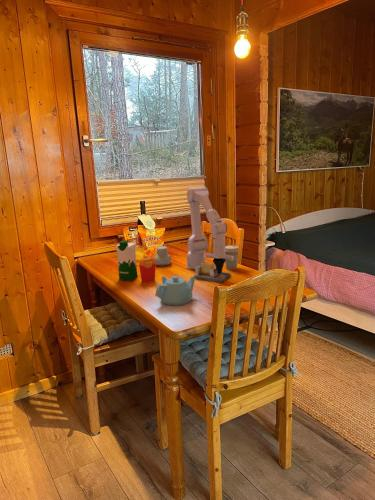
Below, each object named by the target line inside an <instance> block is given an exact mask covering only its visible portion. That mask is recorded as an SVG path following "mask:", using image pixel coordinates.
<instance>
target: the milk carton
mask: <svg viewBox="0 0 375 500" xmlns="http://www.w3.org/2000/svg"><path fill="white" fill-rule="evenodd" d="M136 247H137V243H136V242H128V240H120V241H119V244H117V245H116V246H115V249H116V250H115V251H116V255H117V256H116V257H117V265H118V266H117V267H118V280H119V281H124V282H125V281H127V282H132V281H134V280H135V279H136V278H138V269H137V255H136Z"/></svg>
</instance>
